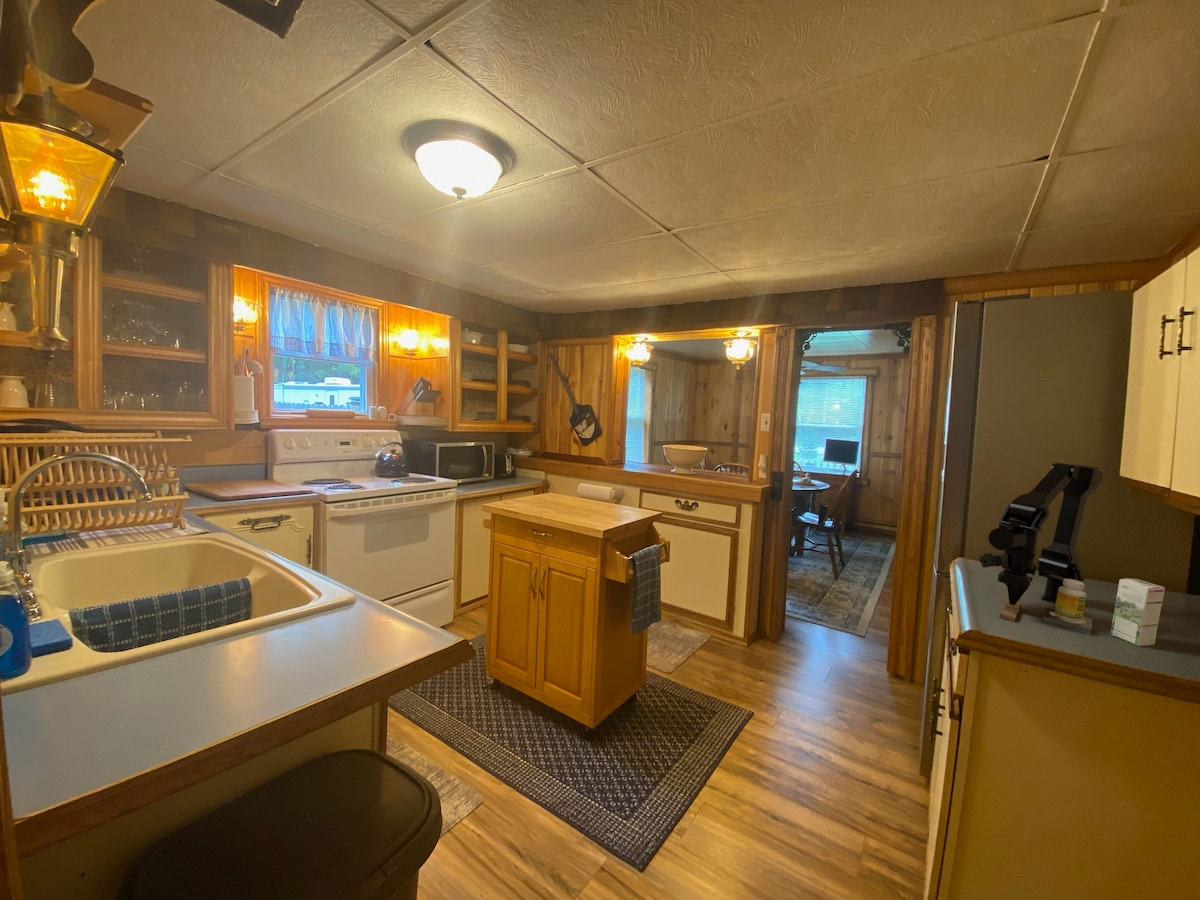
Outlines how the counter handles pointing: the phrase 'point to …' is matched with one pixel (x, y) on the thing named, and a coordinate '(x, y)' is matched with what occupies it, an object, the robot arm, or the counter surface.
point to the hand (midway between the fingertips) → (1012, 603)
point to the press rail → (1009, 613)
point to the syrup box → (1137, 611)
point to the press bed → (1067, 622)
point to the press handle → (1012, 605)
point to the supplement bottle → (1071, 600)
